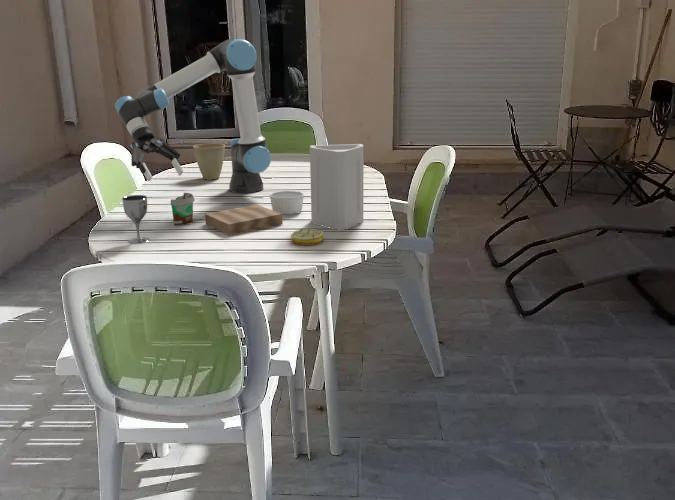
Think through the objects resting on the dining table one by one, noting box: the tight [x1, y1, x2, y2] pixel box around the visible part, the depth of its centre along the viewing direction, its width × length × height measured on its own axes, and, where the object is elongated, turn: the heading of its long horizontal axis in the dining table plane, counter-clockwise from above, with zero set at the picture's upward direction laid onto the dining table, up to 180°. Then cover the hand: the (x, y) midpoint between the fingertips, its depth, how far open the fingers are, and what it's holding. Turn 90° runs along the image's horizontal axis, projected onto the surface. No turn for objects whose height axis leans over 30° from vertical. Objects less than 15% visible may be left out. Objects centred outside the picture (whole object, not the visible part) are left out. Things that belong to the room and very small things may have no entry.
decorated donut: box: [290, 228, 324, 246], centre depth 226 cm, size 10×11×4 cm
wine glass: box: [121, 194, 150, 245], centre depth 227 cm, size 8×8×15 cm
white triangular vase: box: [309, 143, 365, 231], centre depth 242 cm, size 19×15×28 cm
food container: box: [170, 192, 196, 226], centre depth 250 cm, size 12×6×10 cm, turn 168°
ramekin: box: [269, 190, 305, 215], centre depth 264 cm, size 13×13×7 cm
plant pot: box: [192, 142, 226, 181], centre depth 324 cm, size 15×15×16 cm
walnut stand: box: [204, 204, 284, 236], centre depth 247 cm, size 22×18×4 cm
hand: (166, 176), depth 253 cm, fingers open, 13 cm apart
